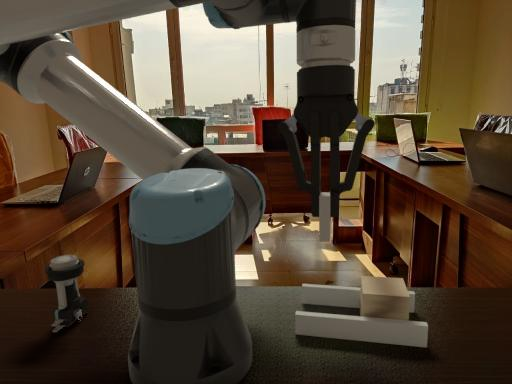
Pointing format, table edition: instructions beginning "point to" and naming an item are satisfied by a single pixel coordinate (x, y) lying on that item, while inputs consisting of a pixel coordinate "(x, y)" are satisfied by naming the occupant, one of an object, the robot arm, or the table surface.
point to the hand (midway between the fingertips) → (325, 238)
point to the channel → (355, 319)
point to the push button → (67, 289)
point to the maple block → (384, 298)
